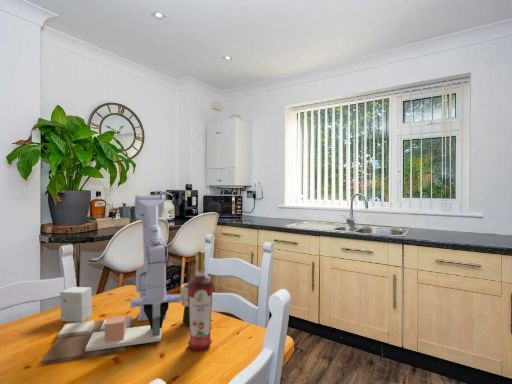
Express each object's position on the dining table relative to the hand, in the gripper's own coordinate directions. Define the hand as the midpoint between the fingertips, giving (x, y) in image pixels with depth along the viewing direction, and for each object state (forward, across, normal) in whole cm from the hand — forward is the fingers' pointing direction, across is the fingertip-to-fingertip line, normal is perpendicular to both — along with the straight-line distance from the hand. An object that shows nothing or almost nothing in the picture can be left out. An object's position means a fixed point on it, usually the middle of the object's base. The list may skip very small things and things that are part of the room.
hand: (156, 327), depth 91 cm
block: (+1, -12, 0) cm, 12 cm away
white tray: (+2, -8, 0) cm, 9 cm away
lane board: (+3, -18, +5) cm, 19 cm away
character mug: (+4, +12, +8) cm, 14 cm away
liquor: (+4, +12, -8) cm, 16 cm away
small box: (+4, -28, +22) cm, 36 cm away
